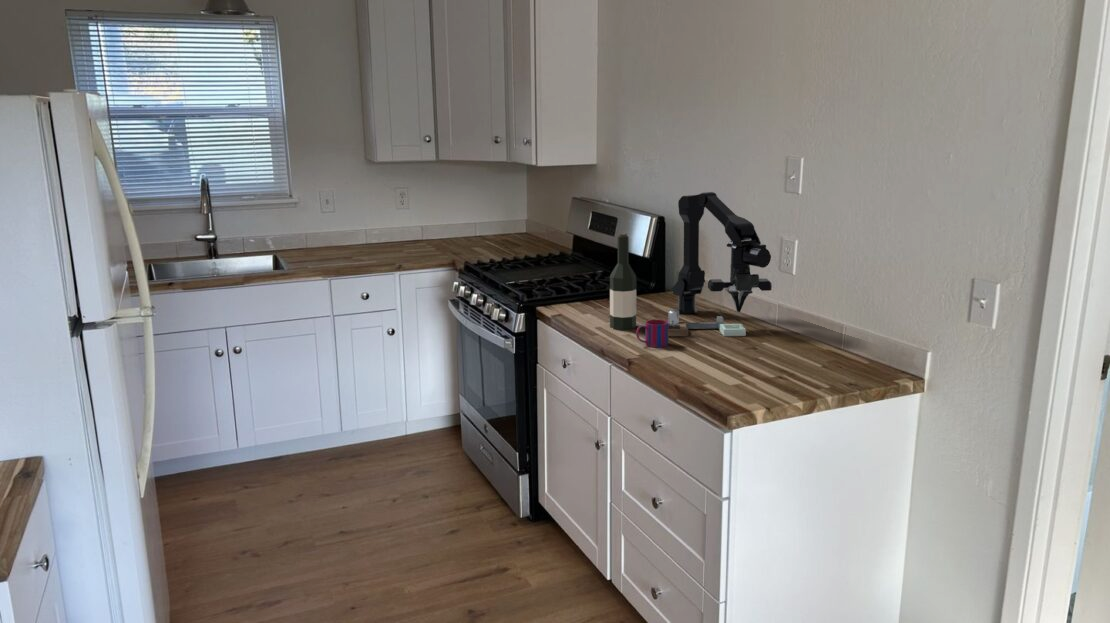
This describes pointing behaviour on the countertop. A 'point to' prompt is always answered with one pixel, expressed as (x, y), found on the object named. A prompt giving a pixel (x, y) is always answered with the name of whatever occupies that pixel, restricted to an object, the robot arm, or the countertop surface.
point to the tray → (732, 330)
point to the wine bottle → (623, 289)
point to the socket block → (679, 330)
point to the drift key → (706, 324)
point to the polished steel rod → (673, 319)
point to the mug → (655, 333)
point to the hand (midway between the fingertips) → (738, 311)
